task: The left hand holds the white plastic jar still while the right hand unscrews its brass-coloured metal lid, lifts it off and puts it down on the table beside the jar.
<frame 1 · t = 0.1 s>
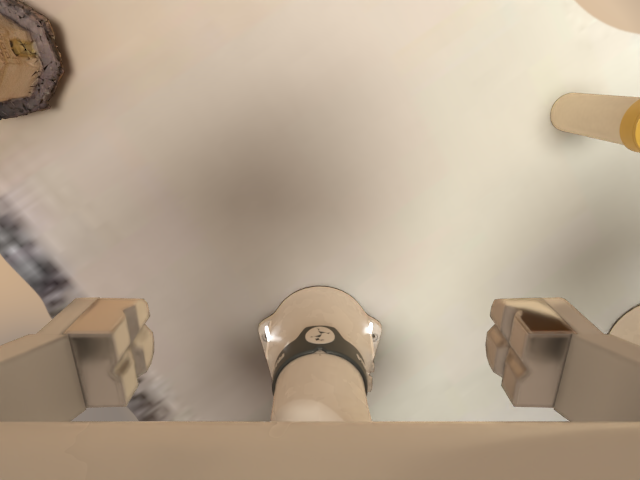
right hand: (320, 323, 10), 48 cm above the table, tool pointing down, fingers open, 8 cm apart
jar: (568, 112, 55), on the table
miniature building: (20, 59, 52), on the table
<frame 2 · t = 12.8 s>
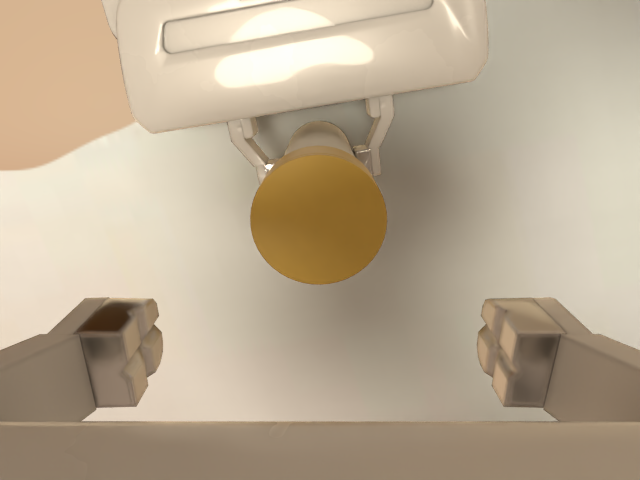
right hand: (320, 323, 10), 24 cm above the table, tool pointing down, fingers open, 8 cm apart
left hand: (321, 182, 27), fingers closed on jar, 5 cm apart
lid: (318, 220, 17), point 16 cm above the table, screwed on, not yet turned
jar: (319, 153, 32), on the table, touching left hand
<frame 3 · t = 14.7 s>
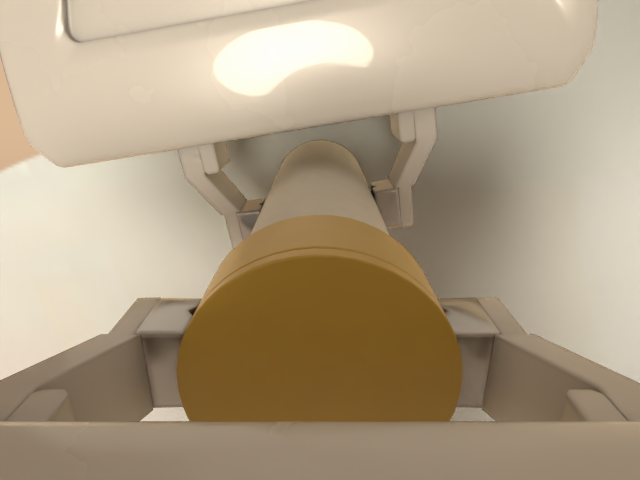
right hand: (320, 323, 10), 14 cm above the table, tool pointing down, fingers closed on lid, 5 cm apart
lid: (319, 374, 8), point 16 cm above the table, screwed on, not yet turned, touching right hand
jar: (320, 183, 23), on the table, touching left hand
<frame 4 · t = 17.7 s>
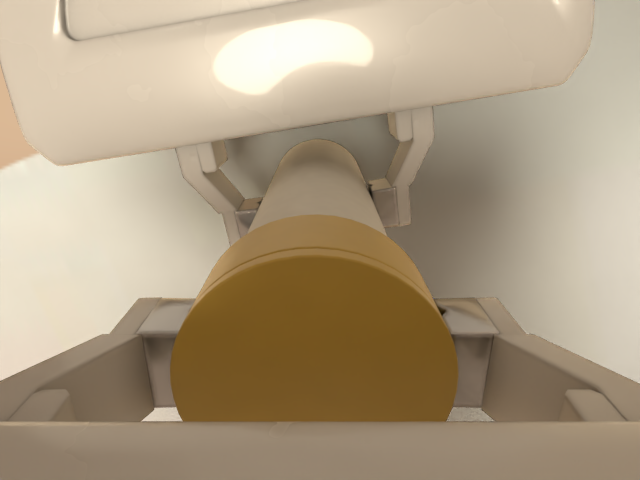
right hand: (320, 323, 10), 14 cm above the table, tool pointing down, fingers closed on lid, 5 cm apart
lid: (314, 375, 8), point 16 cm above the table, turned 64° so far, risen 0.1 cm, still on its thread, touching right hand
jar: (318, 182, 23), on the table, touching left hand
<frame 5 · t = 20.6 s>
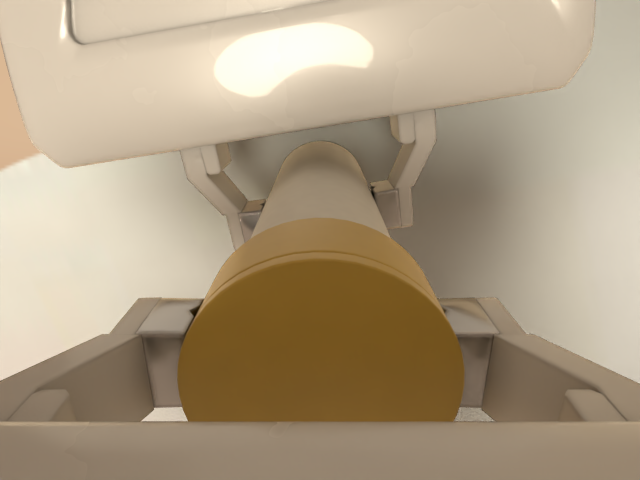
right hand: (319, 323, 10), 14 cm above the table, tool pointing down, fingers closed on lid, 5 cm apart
lid: (320, 378, 8), point 16 cm above the table, turned 128° so far, risen 0.2 cm, still on its thread, touching right hand
jar: (320, 184, 24), on the table, touching left hand
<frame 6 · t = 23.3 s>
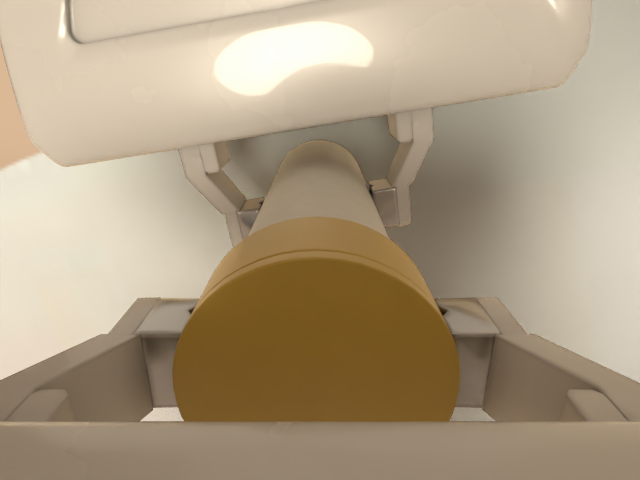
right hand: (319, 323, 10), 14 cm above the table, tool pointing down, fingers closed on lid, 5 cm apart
lid: (316, 377, 8), point 16 cm above the table, turned 192° so far, risen 0.3 cm, still on its thread, touching right hand
jar: (319, 182, 24), on the table, touching left hand
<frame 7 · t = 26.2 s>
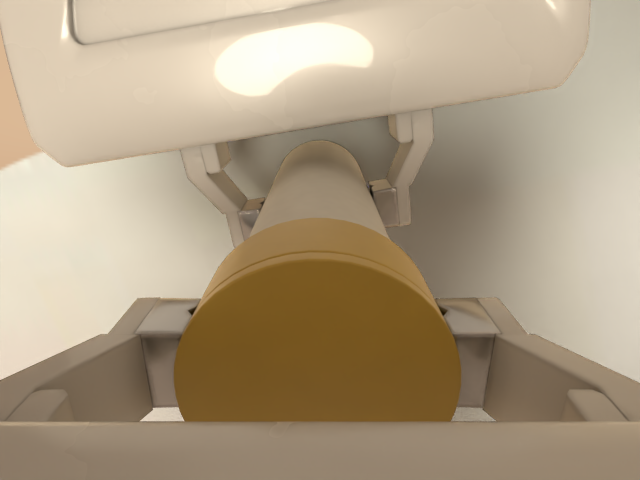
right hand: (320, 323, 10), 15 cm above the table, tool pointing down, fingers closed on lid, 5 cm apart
lid: (317, 379, 8), point 16 cm above the table, turned 256° so far, risen 0.4 cm, still on its thread, touching right hand
jar: (319, 183, 24), on the table, touching left hand
when the right hand's fingers open (2 cm above the table, at t = 36.0 s): lid drops 2 cm, point 2 cm above the table.
when the left hand's fingers open (6 cm above the table, at t = 37.1 s): jar stays where it is, on the table.
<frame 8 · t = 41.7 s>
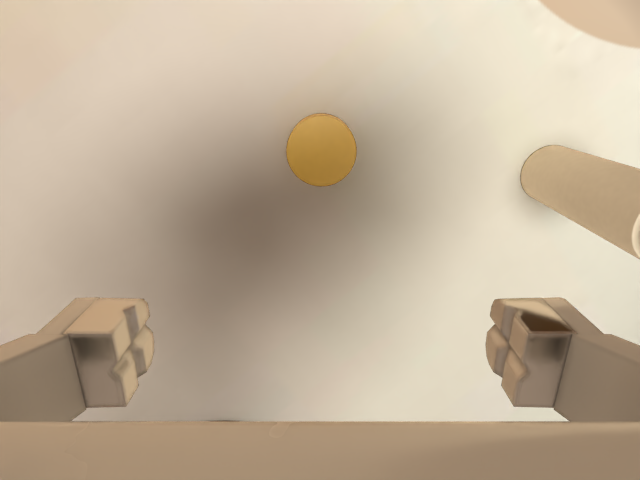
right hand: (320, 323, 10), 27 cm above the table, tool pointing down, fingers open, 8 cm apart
lid: (321, 151, 33), point 2 cm above the table, off its thread
jar: (548, 173, 36), on the table
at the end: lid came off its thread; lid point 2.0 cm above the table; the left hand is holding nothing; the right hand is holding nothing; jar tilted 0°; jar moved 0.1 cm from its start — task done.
